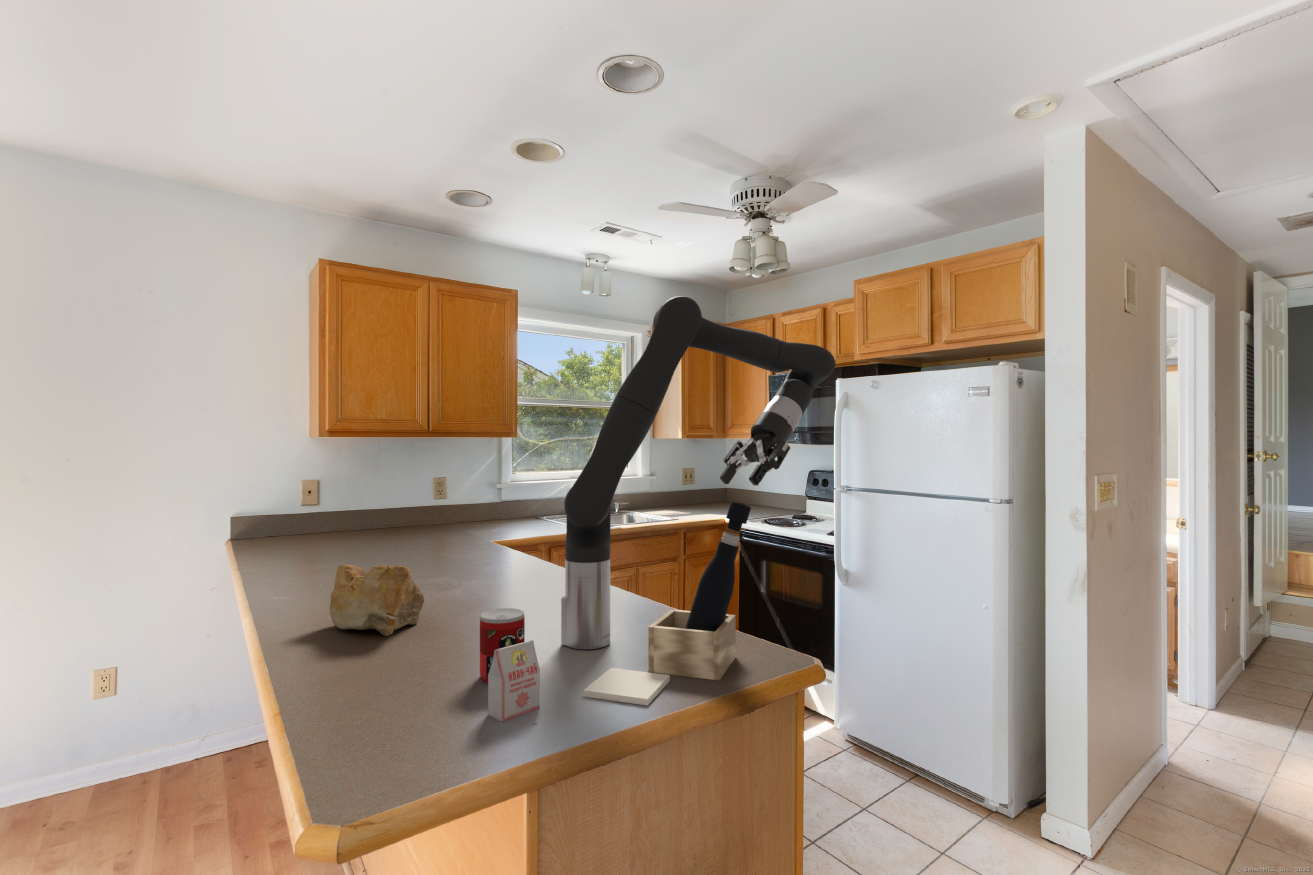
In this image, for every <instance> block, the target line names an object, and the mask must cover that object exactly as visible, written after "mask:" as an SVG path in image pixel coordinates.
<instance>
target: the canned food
mask: <svg viewBox="0 0 1313 875" xmlns="http://www.w3.org/2000/svg"><path fill="white" fill-rule="evenodd" d="M479 617H480V618H479V675H480V679H481V681H483V682H484V683H487V684H488V674H489V671H490V668H491V664H492V661H493V657H494V651H495V650H497V649H501V648H504V647H508V646H512V645H516V644H519V643H523V642H526V641H525V635H526V634H525V627H526V626H525V625H526V624H525V611H523V610H522V609H519V608H514V607H513V608H512V607H505V608H504V607H503V608H493V609H489V610H486V611H483V612H482V613H480V616H479Z"/></svg>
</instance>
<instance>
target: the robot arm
mask: <svg viewBox="0 0 1313 875" xmlns="http://www.w3.org/2000/svg"><path fill="white" fill-rule="evenodd" d="M652 321H653V322H652V324H653V325H652V326H653V330H652V333H651V336H650V338H649V341H648V343H647V345H646V347H645V349H644V351H643V353H642V355H641V356H640V358H639V359H638V360H637V362H636V364H635V365H634V366H633V368H632V369H631V371H630V372H629V374H628V376H626V378H625V379H624V382H622V385H621V386H620V388H619V390H618V391H617V393H616V395H615V398H614V399H613V401H612V403H611V405H610V407H609V409H608V412H607V413H606V416H605V418H604V421H603V424H602V426H601V429H600V431H599V434H598V436H597V439H596V442H595V446H594V448H593V450H592V453H591V454H590V457H589V459H588V461H587V462H586V464H585V466H584V468H583V469H582V471H581V472H580V474H579V475H578V477H577V479H576V480H575V481H574V484H573V485H572V486H571V488H570V489H569V490H568V491H567V493H566V495H565V497H564V504H563V505H564V511H565V515H566V534H565V535H566V537H565V545H564V547H565V548H564V550H565V553H564V554H565V555H564V556H565V557H564V558H565V560H564V562H565V563H564V565H565V566H564V567H565V568H564V569H565V570H564V571H565V572H564V575H565V578H564V579H565V581H564V582H565V583H564V584H565V586H564V587H565V588H564V589H565V590H564V592H565V594H564V596H562V597H561V599H560V602H561V603H560V606H561V607H560V612H561V613H560V616H561V618H560V622H561V623H560V624H561V625H560V628H561V630H560V645H562V646H563V645H564V646H566V647H568V648H571V649H575V650H595V649H596V650H597V649H601V648H603V647H607V646H608V645H610V644H611V633H612V632H611V524H612V523H611V522H612V521H611V514H612V513H611V511H612V510H611V504H612V501H613V498H614V496H615V494H616V490H617V489H618V486H619V484H620V480H621V478H622V477H623V473H624V472H625V471H626V468H627V467H628V465H629V464H630V462H631V461H632V459H633V457H634V456H635V455H636V453H637V452H638V450H639V448H640V447H641V445H642V443H643V441H644V440H645V438H646V436H647V434H648V433H649V431H650V429H651V427H652V425H653V423H654V421H655V419H656V417H657V415H658V412H659V411H660V408H661V406H662V404H663V401H664V399H665V396H666V394H667V391H668V390H669V386H670V385H671V382H672V379H673V376H674V374H675V372H676V369H677V368H678V365H679V364H680V362H681V360H682V358H683V357H684V355H685V353H686V352H687V350H688V349H689V348H694V349H695V348H696V349H699V350H704V351H707V352H712V353H715V354H719V355H722V356H725V357H728V358H732V359H734V360H736V361H739V362H743V363H746V364H748V365H751V366H754V367H757V368H759V369H762V370H765V371H768V372H772V373H775V374H779V373H783V372H785V371H788V373H787V375H786V377H785V379H784V382H783V383H782V385H781V386H780V387H779V389H778V390H777V392H776V393H775V395H774V396H773V398H772V399H771V400H770V401H769V402H768V403H767V405H766V406H764V408H763V410H762V412H761V413H760V415H759V416H758V418H757V419H756V420H755V422H754V423H753V425H752V426H751V428H750V438H749V439H748V440H747V441H746V442H745V443H743V442H742V441H741V440H737V441H736V442H735V443H734V444H733V445H732V447H731V448H730V450H729V451H728V453H727V454H726V455H725V457H723V462H724V464H725V465H726V467H725V469H723V472H722V473H721V475H720V477H719V479H720V480H721V482H722V483H723V484H724V485H729V484H730V482H731V481H732V480H733V478H734V477H735V475H736V474H737V471H739V470H740V469H741V468H742V467H747V466H748V465H750V464H752V463H759V464H757V465H756V466H755V467H754V469H753V471H752V472H751V474H750V475H749V478H748V481H749V482H750V483H751V484H752V485H753V486H759V484H760V483H761V482H762V480H763V479H764V477H765V476H766V474H767V473H768V472H770V471H772V470H773V469H774V470H776V471H777V470H778V469H780V467H781V465H782V464H783V462H784V460H785V459H786V457H787V455H788V453H789V451H790V450H791V446H790V445H789V444H788V443H787V442H788V441H789V439H790V437H791V436H792V434H793V432H794V431H795V429H796V428H797V426H798V425H799V422H800V420H801V418H802V416H803V415H804V413H805V412H806V410H807V409H808V407H809V405H810V404H811V402H812V399H813V392H814V391H815V390H816V388H818V386H819V385H820V384H821V383H823V382H824V381H825V380H826V379H827V378H829V376H831V375H832V374H833V373H834V371H835V369H836V365H837V362H836V359H835V357H834V355H833V354H832V352H831V351H829V350H828V349H826V348H824V347H822V346H820V345H817V344H810V343H805V342H794V341H792V342H789V341H786V340H785V341H784V340H782V339H779V338H776V337H773V336H771V335H767V334H764V333H762V332H758V331H754V330H749V329H746V328H745V329H744V328H738V327H735V326H734V327H732V326H729V325H724V324H721V323H717V322H715V321H712V320H709V319H708V318H705V317H703V315H702V310H701V308H700V306H699V304H698V303H697V301H696V300H694V299H693V298H692V297H689V296H685V295H682V296H681V295H680V296H678V295H677V296H674V297H672V298H669V299H667V300H666V301H665V302H664V303H663V304H662V305H661V306H660V307H659V308H658V310H656V313H655V314H654V317H653V320H652ZM743 455H744V457H745V458H746V459H745V458H743ZM776 458H777V460H776ZM739 461H740V462H739Z"/></svg>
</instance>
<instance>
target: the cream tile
mask: <svg viewBox="0 0 1313 875" xmlns="http://www.w3.org/2000/svg"><path fill="white" fill-rule="evenodd" d="M670 678H671V675H670V674H662V673H654V672H649V671H648V672H647V671H640V670H631V669H622V668H617V667H610V668H609V669H608V670H607V671H605V672H604V673H603V674H601V675H600V676H599V677H598V678H596V679H595V680H594V681H593V682H592V683H591V684H589V685H588V686H587V687H586V688H585V689H583V697H584V698H592V699H598V700H606V701H614V702H621V703H628V704H633V705H642V706H647V707H648V706H649V705H650V704H651V702H652V701H653V700H654V699H655V698H656V697H657V696H658V695H659V693H660V692H661V691H662V690H663V689H664V688H665V687H666V686H667V685H668V684H669V682H670V681H671V679H670Z"/></svg>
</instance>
